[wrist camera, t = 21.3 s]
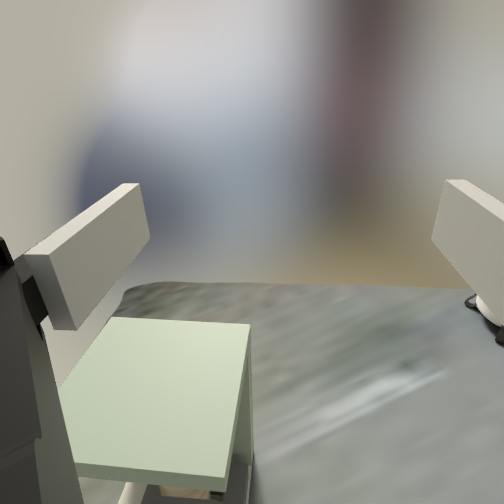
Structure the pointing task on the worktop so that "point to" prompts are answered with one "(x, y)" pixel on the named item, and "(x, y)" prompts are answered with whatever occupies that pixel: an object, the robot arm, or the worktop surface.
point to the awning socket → (164, 408)
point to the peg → (184, 492)
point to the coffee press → (487, 316)
